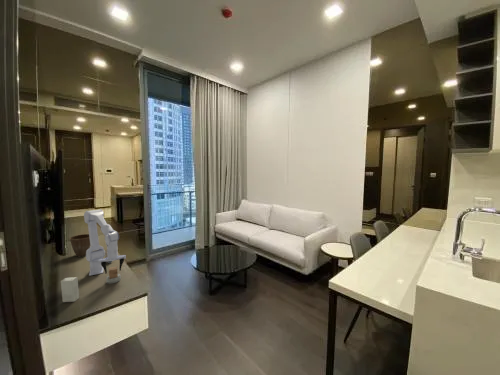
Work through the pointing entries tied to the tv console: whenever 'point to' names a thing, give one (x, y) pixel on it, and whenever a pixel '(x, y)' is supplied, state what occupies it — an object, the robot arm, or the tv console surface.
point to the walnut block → (113, 272)
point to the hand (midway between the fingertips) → (113, 271)
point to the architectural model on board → (106, 256)
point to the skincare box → (70, 289)
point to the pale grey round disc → (113, 279)
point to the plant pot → (80, 244)
